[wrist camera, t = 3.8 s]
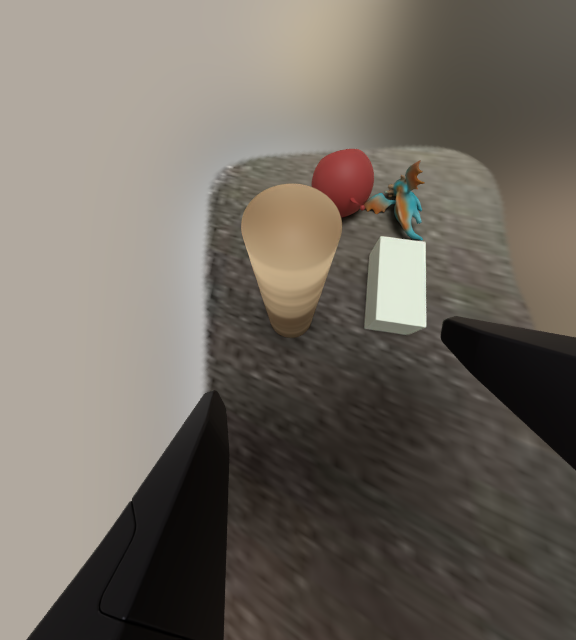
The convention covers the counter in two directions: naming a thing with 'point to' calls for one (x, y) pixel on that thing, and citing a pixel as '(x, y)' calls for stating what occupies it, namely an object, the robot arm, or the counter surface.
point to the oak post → (291, 251)
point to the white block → (396, 286)
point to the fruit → (345, 179)
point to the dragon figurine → (401, 200)
